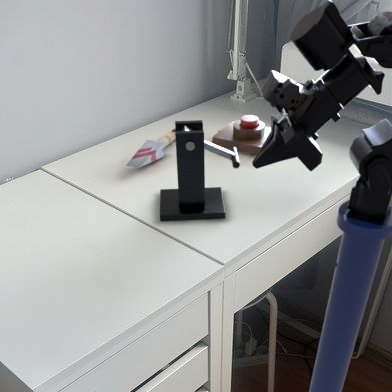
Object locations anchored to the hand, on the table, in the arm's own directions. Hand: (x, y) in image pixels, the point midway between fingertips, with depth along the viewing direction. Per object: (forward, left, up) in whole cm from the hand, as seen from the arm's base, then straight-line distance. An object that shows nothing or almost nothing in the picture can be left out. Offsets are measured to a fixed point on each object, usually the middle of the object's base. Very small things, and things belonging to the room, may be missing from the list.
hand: (253, 166), depth 83 cm
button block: (+12, -23, -7) cm, 27 cm away
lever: (+7, +4, +2) cm, 8 cm away
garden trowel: (+26, -9, -7) cm, 28 cm away
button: (+12, -23, -4) cm, 27 cm away
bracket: (+9, +6, -7) cm, 13 cm away
